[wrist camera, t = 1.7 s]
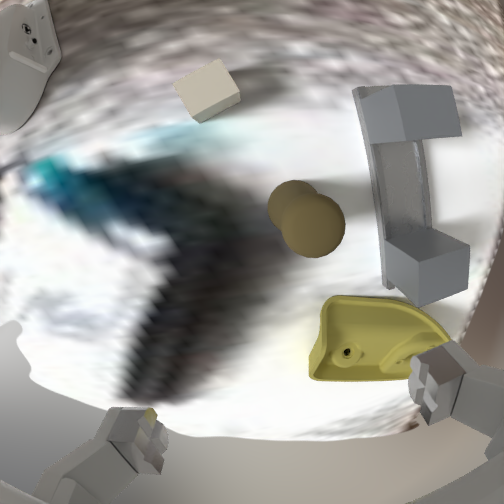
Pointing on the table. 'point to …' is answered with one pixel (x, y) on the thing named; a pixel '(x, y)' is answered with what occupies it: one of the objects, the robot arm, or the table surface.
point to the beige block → (207, 91)
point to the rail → (395, 184)
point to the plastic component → (371, 339)
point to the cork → (306, 219)
